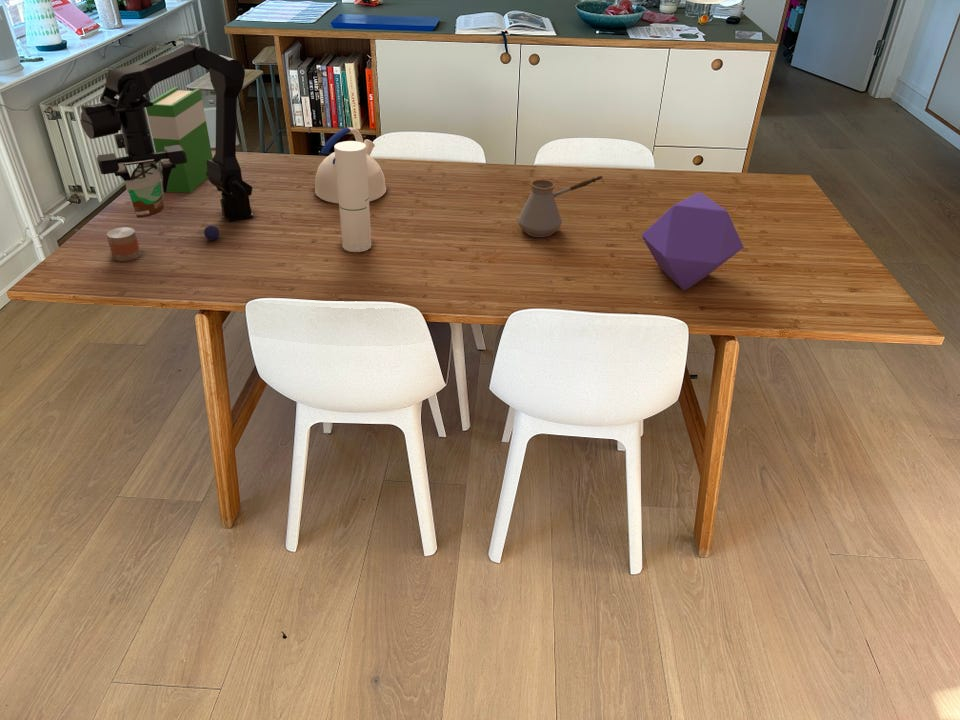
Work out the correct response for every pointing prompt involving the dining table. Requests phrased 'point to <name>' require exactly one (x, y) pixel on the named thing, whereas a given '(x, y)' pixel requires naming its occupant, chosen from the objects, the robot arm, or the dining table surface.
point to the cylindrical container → (353, 195)
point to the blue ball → (211, 232)
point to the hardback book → (182, 135)
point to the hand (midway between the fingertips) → (150, 194)
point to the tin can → (123, 244)
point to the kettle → (328, 177)
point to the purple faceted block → (692, 240)
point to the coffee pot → (544, 208)
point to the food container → (146, 189)
